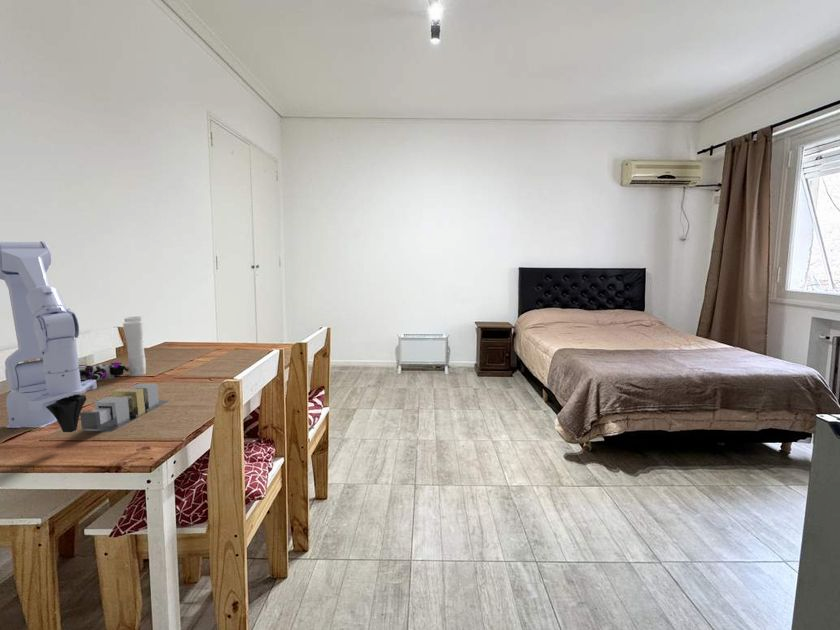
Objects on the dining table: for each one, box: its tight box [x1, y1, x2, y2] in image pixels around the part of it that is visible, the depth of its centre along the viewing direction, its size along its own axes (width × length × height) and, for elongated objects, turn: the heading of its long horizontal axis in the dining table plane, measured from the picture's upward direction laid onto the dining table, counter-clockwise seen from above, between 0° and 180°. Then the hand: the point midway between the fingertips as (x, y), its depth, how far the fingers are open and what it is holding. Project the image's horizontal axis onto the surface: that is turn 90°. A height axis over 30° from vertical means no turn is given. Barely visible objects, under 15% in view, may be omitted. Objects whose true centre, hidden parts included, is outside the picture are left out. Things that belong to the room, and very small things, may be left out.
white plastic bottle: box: [122, 315, 147, 377], centre depth 156 cm, size 17×5×18 cm, turn 31°
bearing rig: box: [83, 382, 169, 432], centre depth 113 cm, size 7×21×6 cm, turn 175°
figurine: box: [79, 361, 131, 382], centre depth 144 cm, size 24×7×29 cm
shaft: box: [79, 391, 145, 430], centre depth 110 cm, size 4×19×4 cm, turn 175°
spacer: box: [111, 387, 145, 417], centre depth 113 cm, size 6×2×6 cm, turn 85°
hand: (69, 430), depth 96 cm, fingers closed
